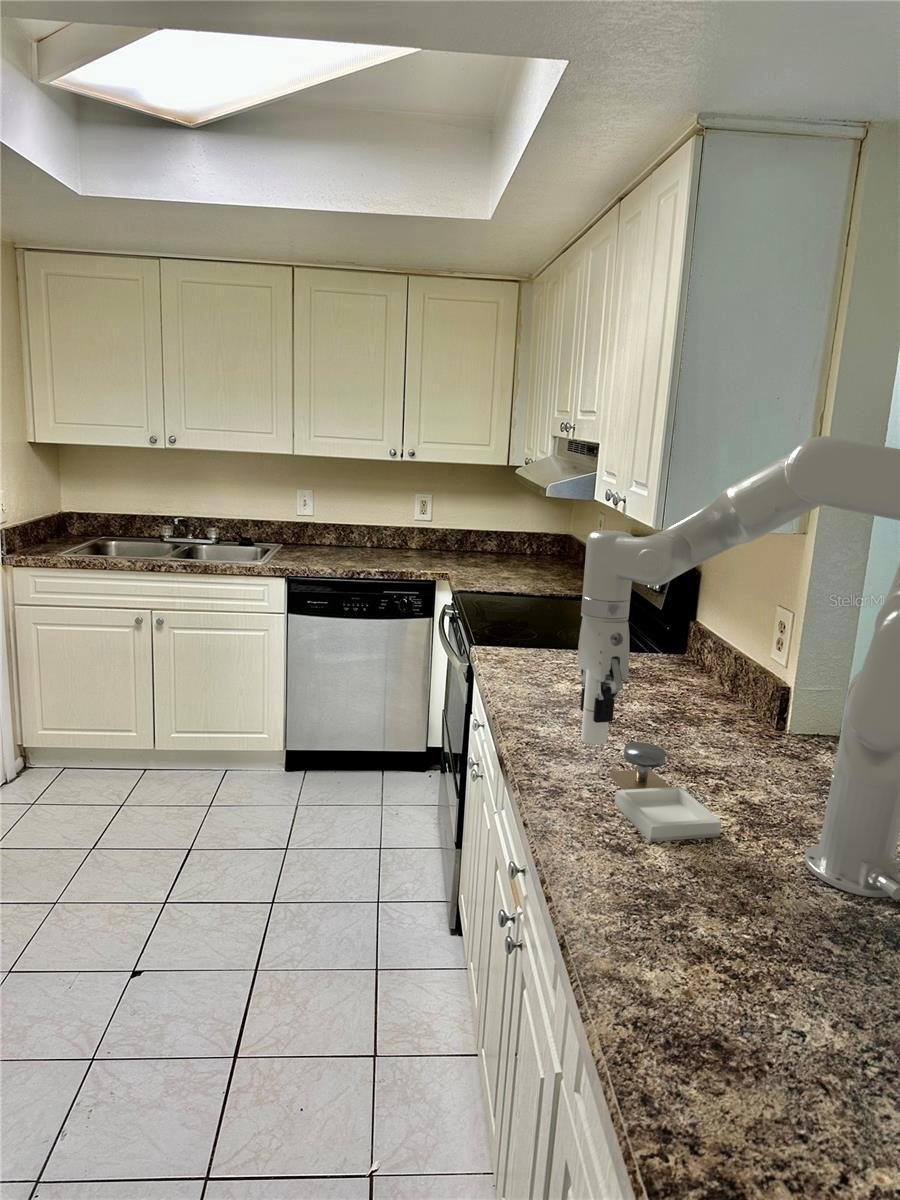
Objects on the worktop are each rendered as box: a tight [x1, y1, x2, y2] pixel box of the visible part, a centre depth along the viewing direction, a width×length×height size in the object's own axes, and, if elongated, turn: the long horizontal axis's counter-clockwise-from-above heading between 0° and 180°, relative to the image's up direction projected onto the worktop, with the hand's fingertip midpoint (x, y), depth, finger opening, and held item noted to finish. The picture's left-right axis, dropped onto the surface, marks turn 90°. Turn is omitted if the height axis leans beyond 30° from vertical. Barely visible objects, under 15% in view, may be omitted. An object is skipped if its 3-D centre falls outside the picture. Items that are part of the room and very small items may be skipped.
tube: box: [580, 669, 611, 746], centre depth 127 cm, size 4×4×15 cm
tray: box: [613, 786, 722, 843], centre depth 124 cm, size 12×12×2 cm
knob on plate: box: [609, 741, 671, 790], centre depth 135 cm, size 8×8×7 cm
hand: (596, 715), depth 128 cm, fingers closed on tube, 4 cm apart
